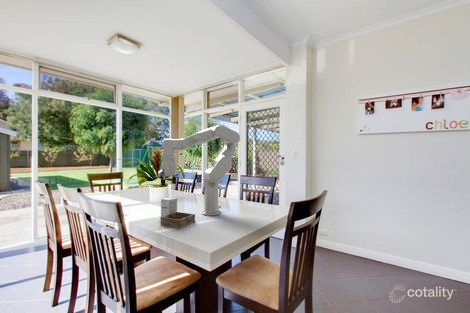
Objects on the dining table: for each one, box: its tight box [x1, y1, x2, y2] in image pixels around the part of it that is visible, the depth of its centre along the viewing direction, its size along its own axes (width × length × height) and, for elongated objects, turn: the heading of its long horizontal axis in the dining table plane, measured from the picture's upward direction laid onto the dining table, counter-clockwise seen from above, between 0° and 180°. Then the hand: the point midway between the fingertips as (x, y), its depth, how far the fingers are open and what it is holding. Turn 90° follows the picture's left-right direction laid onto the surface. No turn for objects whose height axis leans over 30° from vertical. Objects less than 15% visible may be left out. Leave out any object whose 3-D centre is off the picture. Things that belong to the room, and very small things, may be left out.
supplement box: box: [160, 197, 178, 217], centre depth 141 cm, size 7×7×13 cm
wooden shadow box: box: [159, 211, 196, 229], centre depth 130 cm, size 14×14×4 cm
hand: (168, 184), depth 141 cm, fingers open, 9 cm apart
